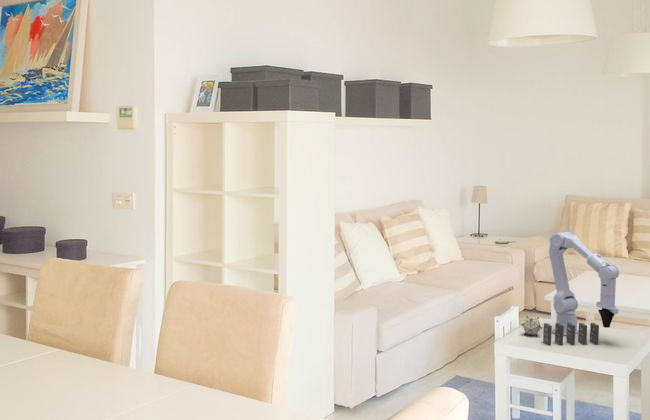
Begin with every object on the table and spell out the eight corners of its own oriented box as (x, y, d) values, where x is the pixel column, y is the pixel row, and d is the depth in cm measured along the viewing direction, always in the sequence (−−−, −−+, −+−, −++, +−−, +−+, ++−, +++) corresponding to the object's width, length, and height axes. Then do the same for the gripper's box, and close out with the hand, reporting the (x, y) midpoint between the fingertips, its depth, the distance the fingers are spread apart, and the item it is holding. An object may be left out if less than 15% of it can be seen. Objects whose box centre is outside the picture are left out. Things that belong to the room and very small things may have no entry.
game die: (526, 343, 327) (516, 322, 332) (544, 336, 328) (534, 315, 332) (529, 337, 319) (518, 316, 324) (547, 330, 320) (537, 309, 324)
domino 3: (569, 341, 316) (570, 322, 315) (574, 345, 311) (575, 325, 310) (566, 341, 316) (567, 323, 315) (571, 345, 311) (572, 325, 310)
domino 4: (581, 341, 316) (582, 322, 316) (586, 344, 311) (587, 325, 311) (578, 341, 316) (578, 322, 316) (583, 344, 311) (583, 325, 311)
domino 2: (558, 341, 315) (558, 323, 315) (562, 345, 311) (563, 325, 310) (554, 342, 315) (555, 323, 315) (559, 345, 310) (560, 325, 310)
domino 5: (592, 341, 317) (593, 322, 316) (598, 344, 312) (599, 325, 311) (589, 341, 317) (590, 322, 316) (594, 344, 312) (595, 325, 311)
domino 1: (546, 342, 315) (547, 323, 314) (551, 345, 310) (551, 326, 309) (543, 342, 315) (543, 323, 314) (547, 345, 310) (548, 326, 309)
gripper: (590, 291, 320) (588, 323, 321) (607, 298, 305) (606, 331, 306) (606, 291, 320) (604, 322, 322) (623, 298, 306) (622, 331, 307)
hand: (606, 327), depth 314 cm, fingers closed
